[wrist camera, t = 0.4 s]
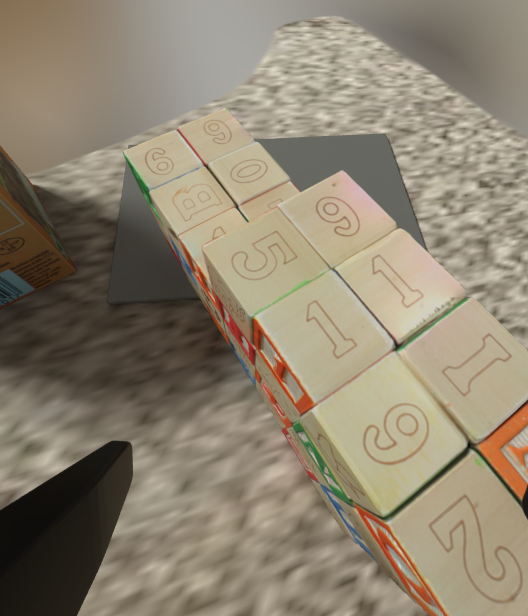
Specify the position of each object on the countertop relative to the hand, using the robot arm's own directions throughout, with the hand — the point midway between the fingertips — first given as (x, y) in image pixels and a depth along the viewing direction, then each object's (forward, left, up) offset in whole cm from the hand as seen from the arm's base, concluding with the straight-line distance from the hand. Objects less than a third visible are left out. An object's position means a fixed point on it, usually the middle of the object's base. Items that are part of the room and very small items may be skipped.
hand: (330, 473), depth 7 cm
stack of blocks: (+7, 0, -13) cm, 15 cm away
